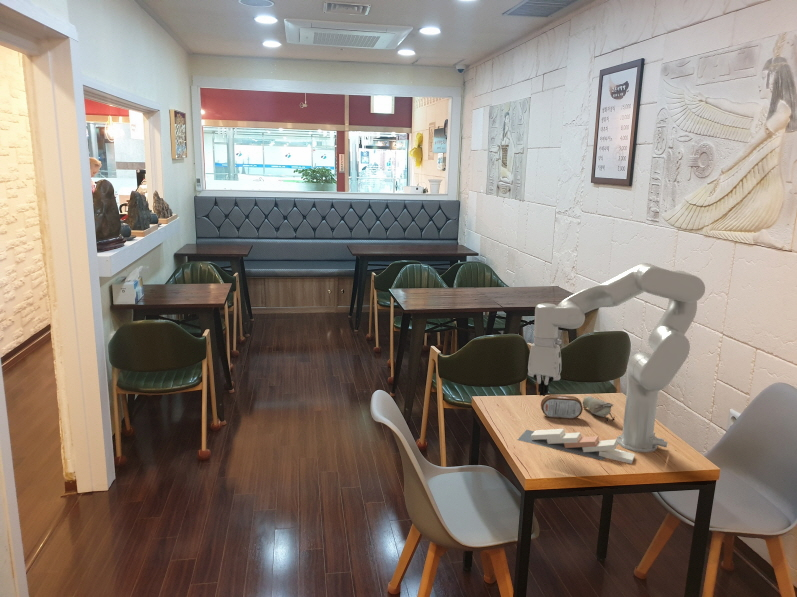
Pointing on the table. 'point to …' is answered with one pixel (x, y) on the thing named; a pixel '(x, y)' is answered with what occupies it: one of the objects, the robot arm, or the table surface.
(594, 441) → the tile
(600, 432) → the table surface
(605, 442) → the tile
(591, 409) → the decorative bird
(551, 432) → the tile
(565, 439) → the tile
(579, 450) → the slate mat
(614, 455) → the tile
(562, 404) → the tin
